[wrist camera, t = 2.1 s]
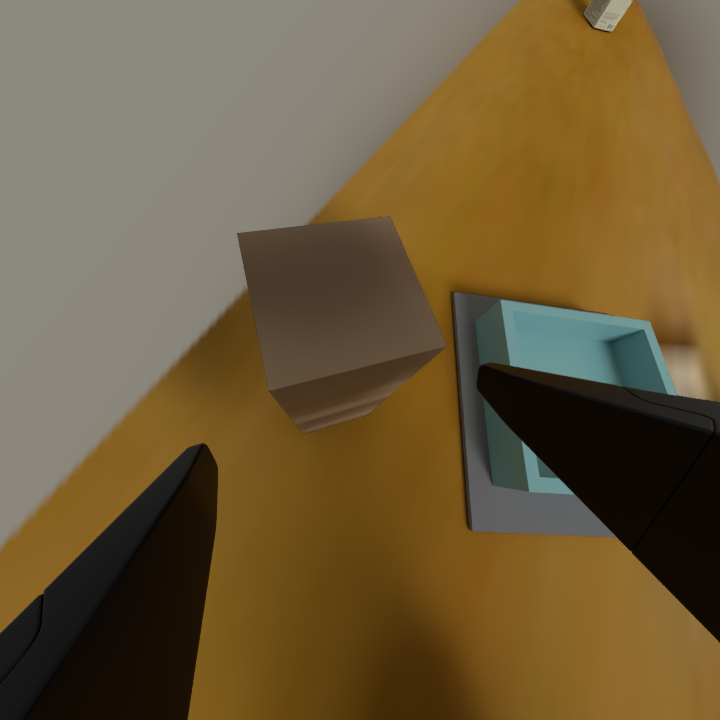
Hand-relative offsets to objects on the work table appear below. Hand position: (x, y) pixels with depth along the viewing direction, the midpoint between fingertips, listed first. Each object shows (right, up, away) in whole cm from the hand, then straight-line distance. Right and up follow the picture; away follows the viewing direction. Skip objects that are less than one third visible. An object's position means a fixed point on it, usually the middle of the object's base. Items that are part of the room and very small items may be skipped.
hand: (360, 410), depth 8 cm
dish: (+16, -2, +12) cm, 20 cm away
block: (-2, -1, +10) cm, 10 cm away
